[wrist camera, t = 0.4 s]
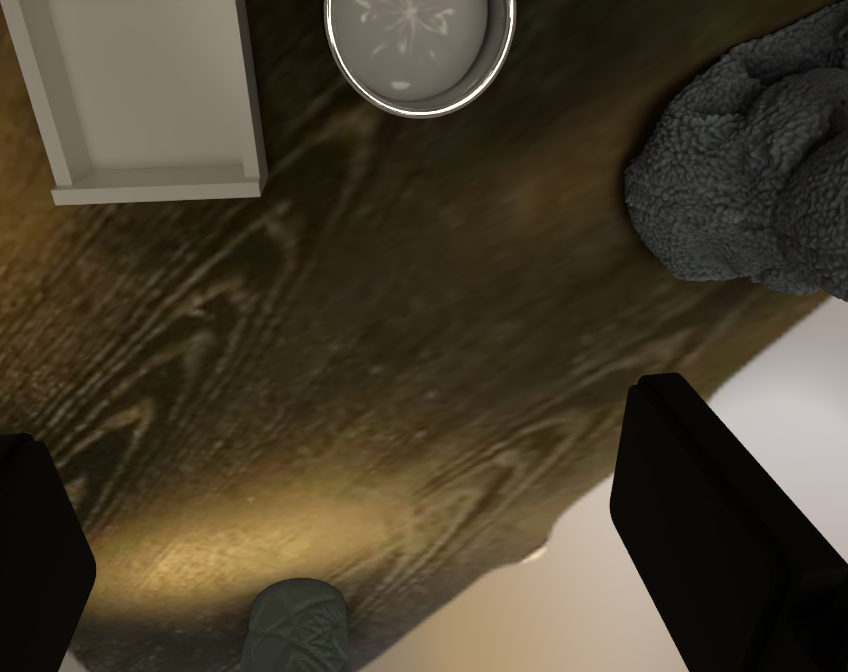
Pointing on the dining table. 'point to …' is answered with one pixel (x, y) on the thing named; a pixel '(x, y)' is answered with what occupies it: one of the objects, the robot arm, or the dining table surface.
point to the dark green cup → (297, 629)
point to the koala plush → (755, 165)
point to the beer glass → (419, 50)
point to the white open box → (142, 97)
